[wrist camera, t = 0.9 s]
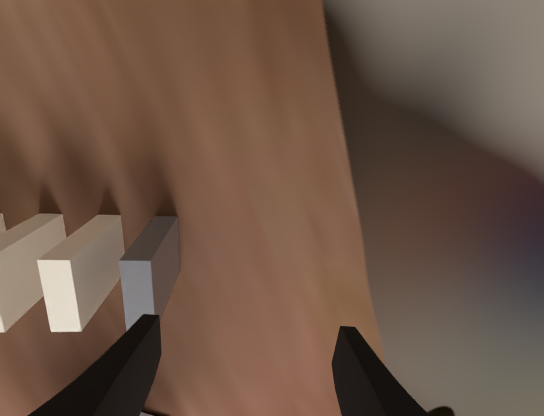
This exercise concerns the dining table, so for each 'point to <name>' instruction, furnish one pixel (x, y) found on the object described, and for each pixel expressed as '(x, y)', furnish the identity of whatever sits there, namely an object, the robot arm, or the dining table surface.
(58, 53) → the dining table surface
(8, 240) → the domino
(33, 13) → the dining table surface
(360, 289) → the dining table surface
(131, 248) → the domino
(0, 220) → the domino
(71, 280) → the domino
